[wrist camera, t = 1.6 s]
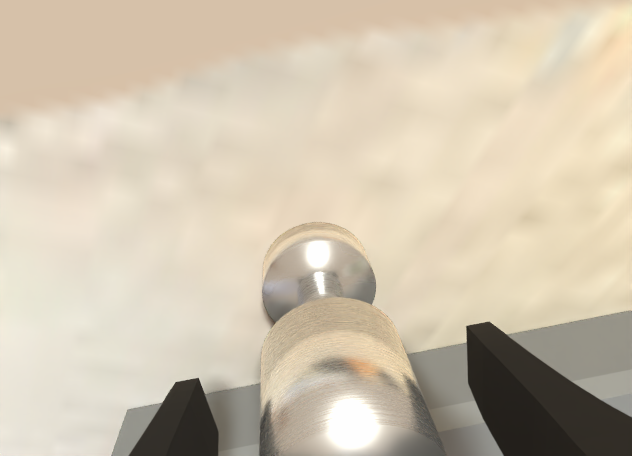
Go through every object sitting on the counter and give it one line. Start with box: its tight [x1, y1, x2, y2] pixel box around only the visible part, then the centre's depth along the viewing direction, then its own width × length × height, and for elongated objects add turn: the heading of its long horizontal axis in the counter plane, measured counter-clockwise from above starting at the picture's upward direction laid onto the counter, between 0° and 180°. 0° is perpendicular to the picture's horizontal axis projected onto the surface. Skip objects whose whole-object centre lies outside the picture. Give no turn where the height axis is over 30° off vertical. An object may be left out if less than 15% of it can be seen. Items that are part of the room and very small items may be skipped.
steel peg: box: [259, 222, 447, 456], centre depth 13 cm, size 4×4×9 cm
